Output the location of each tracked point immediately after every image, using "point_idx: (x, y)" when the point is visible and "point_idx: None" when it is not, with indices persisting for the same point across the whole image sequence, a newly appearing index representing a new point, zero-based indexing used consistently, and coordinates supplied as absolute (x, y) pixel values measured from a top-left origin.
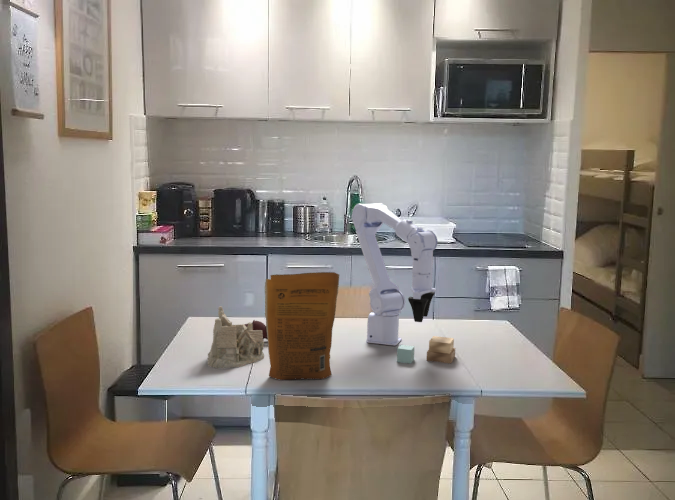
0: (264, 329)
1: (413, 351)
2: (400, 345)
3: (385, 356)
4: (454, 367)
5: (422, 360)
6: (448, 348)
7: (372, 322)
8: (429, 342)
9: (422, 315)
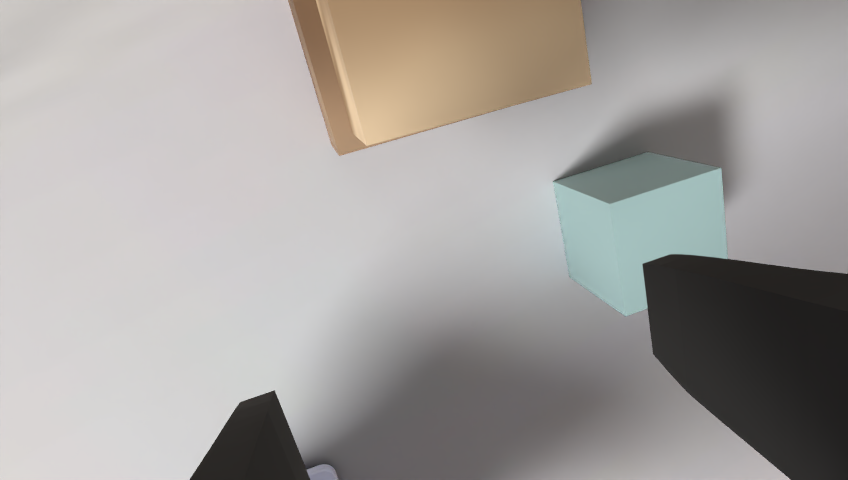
0: None
1: (619, 186)
2: (644, 306)
3: (590, 367)
4: None
5: (538, 118)
6: None
7: None
8: (583, 79)
9: (773, 273)
